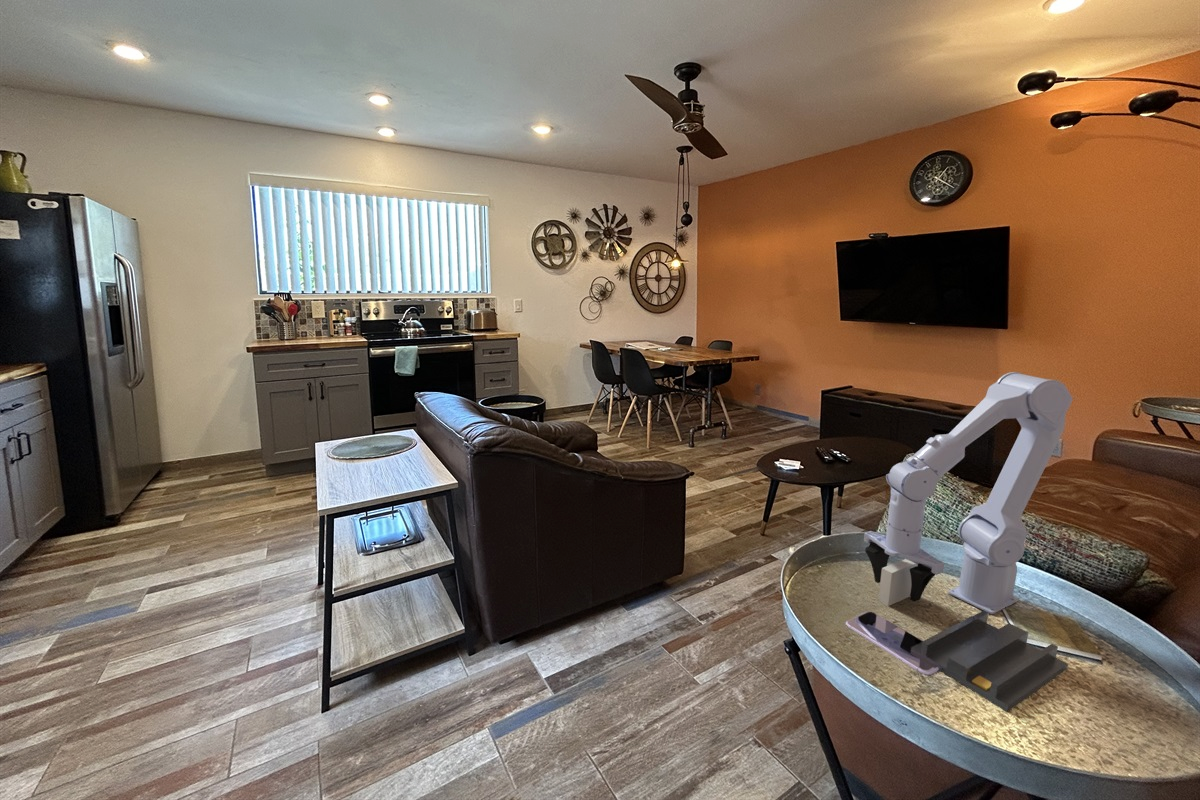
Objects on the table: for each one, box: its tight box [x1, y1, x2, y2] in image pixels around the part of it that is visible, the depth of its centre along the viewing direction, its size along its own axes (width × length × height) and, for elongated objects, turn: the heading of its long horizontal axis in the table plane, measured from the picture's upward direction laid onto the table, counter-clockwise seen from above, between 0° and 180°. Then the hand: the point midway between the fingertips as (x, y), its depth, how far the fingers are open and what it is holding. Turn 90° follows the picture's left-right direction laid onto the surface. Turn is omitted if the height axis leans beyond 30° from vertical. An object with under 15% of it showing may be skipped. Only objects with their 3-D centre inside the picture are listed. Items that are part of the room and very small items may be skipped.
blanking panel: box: [877, 558, 918, 607], centre depth 101 cm, size 8×2×7 cm, turn 117°
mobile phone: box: [845, 611, 940, 676], centre depth 89 cm, size 8×1×15 cm
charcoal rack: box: [911, 610, 1069, 713], centre depth 84 cm, size 18×14×3 cm
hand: (896, 590), depth 101 cm, fingers open, 7 cm apart
